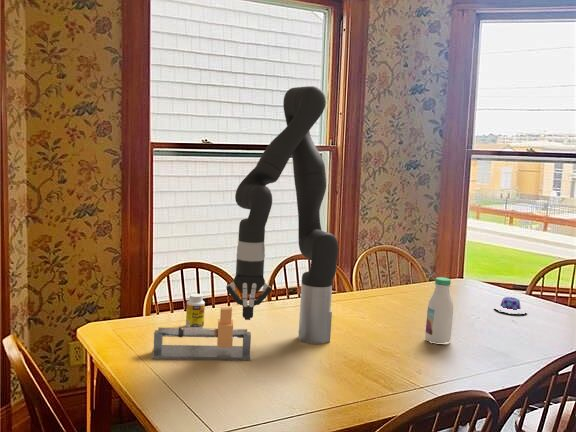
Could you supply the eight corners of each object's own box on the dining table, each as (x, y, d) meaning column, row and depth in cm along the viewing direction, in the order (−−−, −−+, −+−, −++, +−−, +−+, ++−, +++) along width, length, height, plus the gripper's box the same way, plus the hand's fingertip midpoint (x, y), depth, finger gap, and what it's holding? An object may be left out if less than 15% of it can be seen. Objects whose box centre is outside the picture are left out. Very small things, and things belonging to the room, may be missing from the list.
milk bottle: (452, 340, 193) (458, 278, 190) (447, 347, 186) (453, 282, 183) (427, 336, 196) (433, 274, 194) (422, 342, 189) (427, 279, 187)
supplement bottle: (190, 330, 189) (191, 298, 187) (182, 325, 193) (184, 293, 192) (206, 328, 192) (208, 296, 190) (199, 323, 196) (200, 292, 195)
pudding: (490, 312, 229) (491, 299, 229) (496, 306, 240) (498, 293, 239) (524, 319, 224) (525, 304, 223) (529, 311, 234) (530, 298, 233)
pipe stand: (248, 349, 175) (250, 323, 174) (250, 360, 166) (251, 334, 165) (155, 347, 172) (156, 322, 171) (152, 359, 163) (153, 332, 162)
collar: (231, 340, 173) (233, 305, 171) (232, 347, 167) (233, 311, 165) (217, 339, 172) (218, 305, 171) (217, 347, 166) (218, 311, 165)
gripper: (273, 255, 171) (270, 315, 174) (226, 253, 170) (223, 314, 172) (276, 260, 164) (272, 323, 166) (226, 259, 163) (223, 322, 165)
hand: (247, 319), depth 169 cm, fingers closed
